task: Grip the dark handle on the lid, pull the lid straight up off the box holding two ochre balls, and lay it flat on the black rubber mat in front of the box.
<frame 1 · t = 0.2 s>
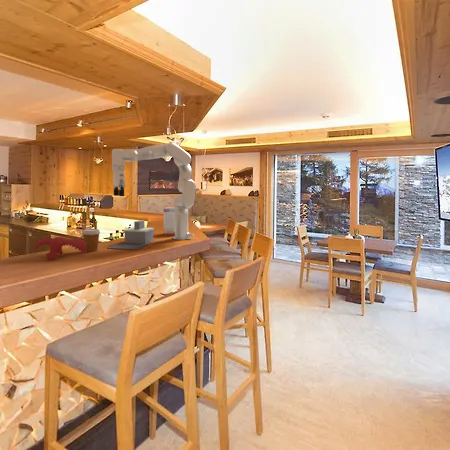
hand: (118, 195, 212), 31 cm above the bar counter, tool pointing down, fingers open, 9 cm apart
mat: (128, 246, 203), on the bar counter
disposable coffee cup: (91, 251, 189), on the bar counter
lid: (139, 231, 219), point 7 cm above the bar counter, touching box
box: (139, 242, 220), on the bar counter
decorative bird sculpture: (57, 258, 169), on the bar counter
cracker box: (173, 234, 258), on the bar counter
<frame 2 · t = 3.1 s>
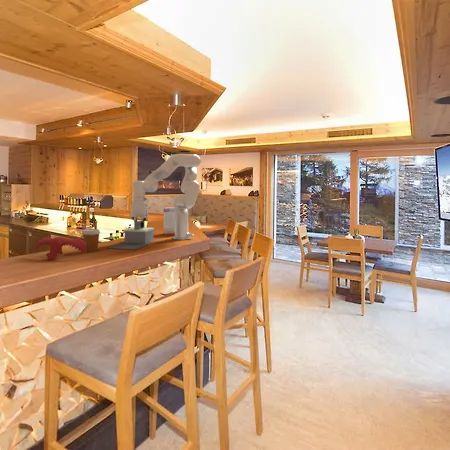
hand: (139, 227, 219), 10 cm above the bar counter, tool pointing down, fingers closed on lid, 3 cm apart
lid: (139, 231, 219), point 7 cm above the bar counter, touching box, gripper
everything else where it was.
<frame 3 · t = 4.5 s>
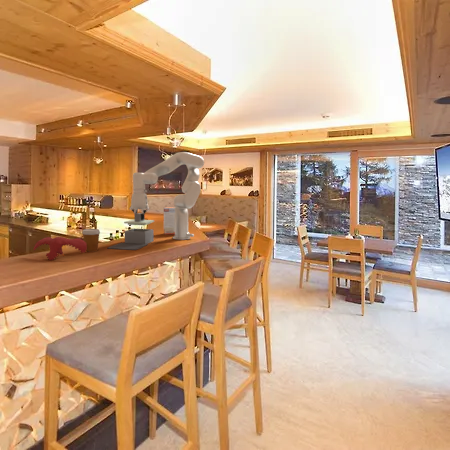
hand: (139, 219, 218), 15 cm above the bar counter, tool pointing down, fingers closed on lid, 3 cm apart
lid: (139, 224, 218), point 12 cm above the bar counter, touching gripper
everything else where it was.
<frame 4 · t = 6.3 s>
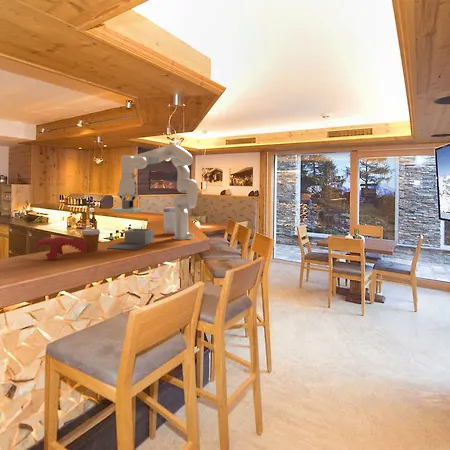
hand: (127, 206, 201), 25 cm above the bar counter, tool pointing down, fingers closed on lid, 3 cm apart
lid: (127, 211, 201), point 21 cm above the bar counter, touching gripper
everything else where it was.
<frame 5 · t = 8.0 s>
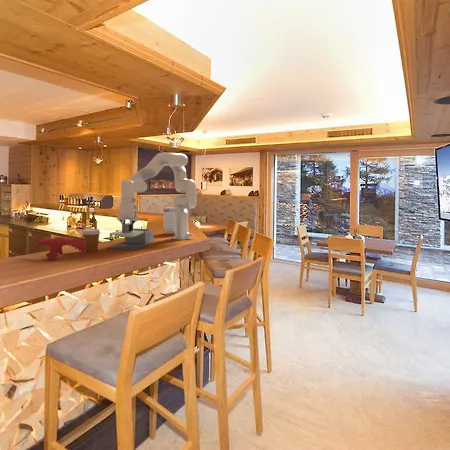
hand: (127, 230, 202), 10 cm above the bar counter, tool pointing down, fingers closed on lid, 3 cm apart
lid: (127, 235, 202), point 7 cm above the bar counter, touching gripper
everything else where it was.
when the fingers open (5 cm above the bar counter, at t = 9.5 s): lid drops 1 cm, resting on mat.
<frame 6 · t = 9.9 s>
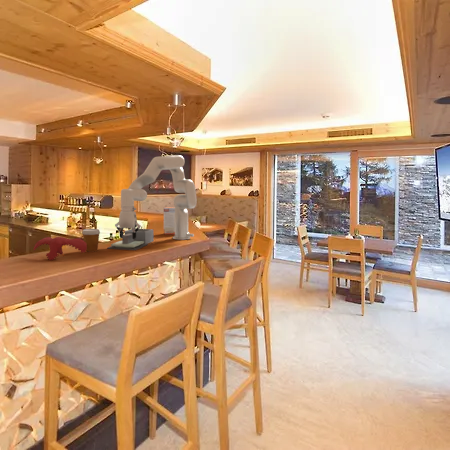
hand: (127, 238, 202), 5 cm above the bar counter, tool pointing down, fingers open, 7 cm apart
lid: (128, 245, 203), resting on mat
everything else where it was.
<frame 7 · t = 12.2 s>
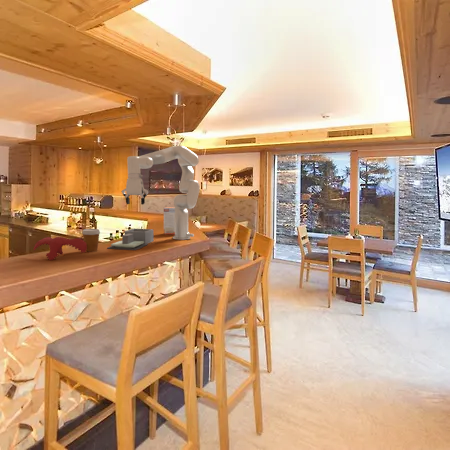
hand: (135, 204, 207), 26 cm above the bar counter, tool pointing down, fingers open, 9 cm apart
nothing on the bar counter moved.
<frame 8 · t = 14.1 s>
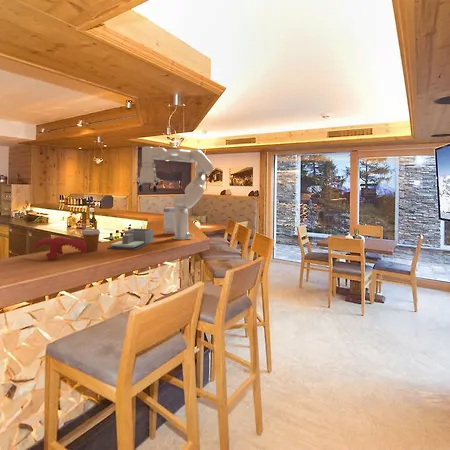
hand: (147, 191, 220), 33 cm above the bar counter, tool pointing down, fingers open, 9 cm apart
nothing on the bar counter moved.
at the end: lid inside the target area on the mat (0.1 cm from its centre), point 0.5 cm above the mat's base; lid tilted 0°; the gripper is holding nothing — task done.
